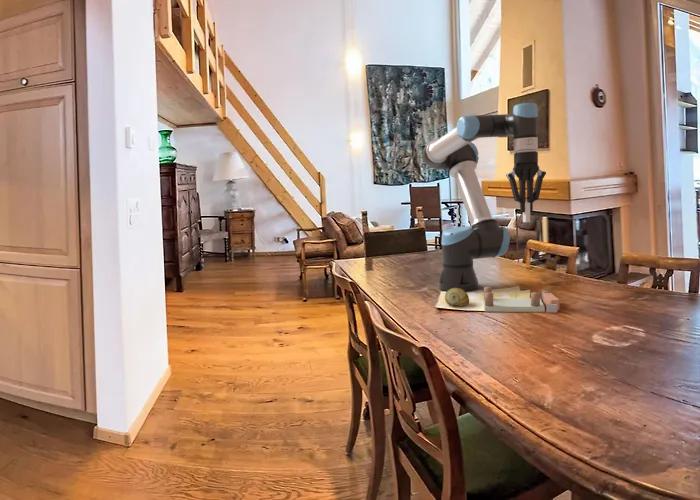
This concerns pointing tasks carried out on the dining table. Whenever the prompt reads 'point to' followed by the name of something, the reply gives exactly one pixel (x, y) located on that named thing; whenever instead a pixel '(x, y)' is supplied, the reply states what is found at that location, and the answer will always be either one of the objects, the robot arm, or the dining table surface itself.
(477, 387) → the dining table surface
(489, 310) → the pale board with pegs
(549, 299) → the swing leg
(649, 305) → the dining table surface
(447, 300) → the seashell
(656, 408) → the dining table surface
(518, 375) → the dining table surface
